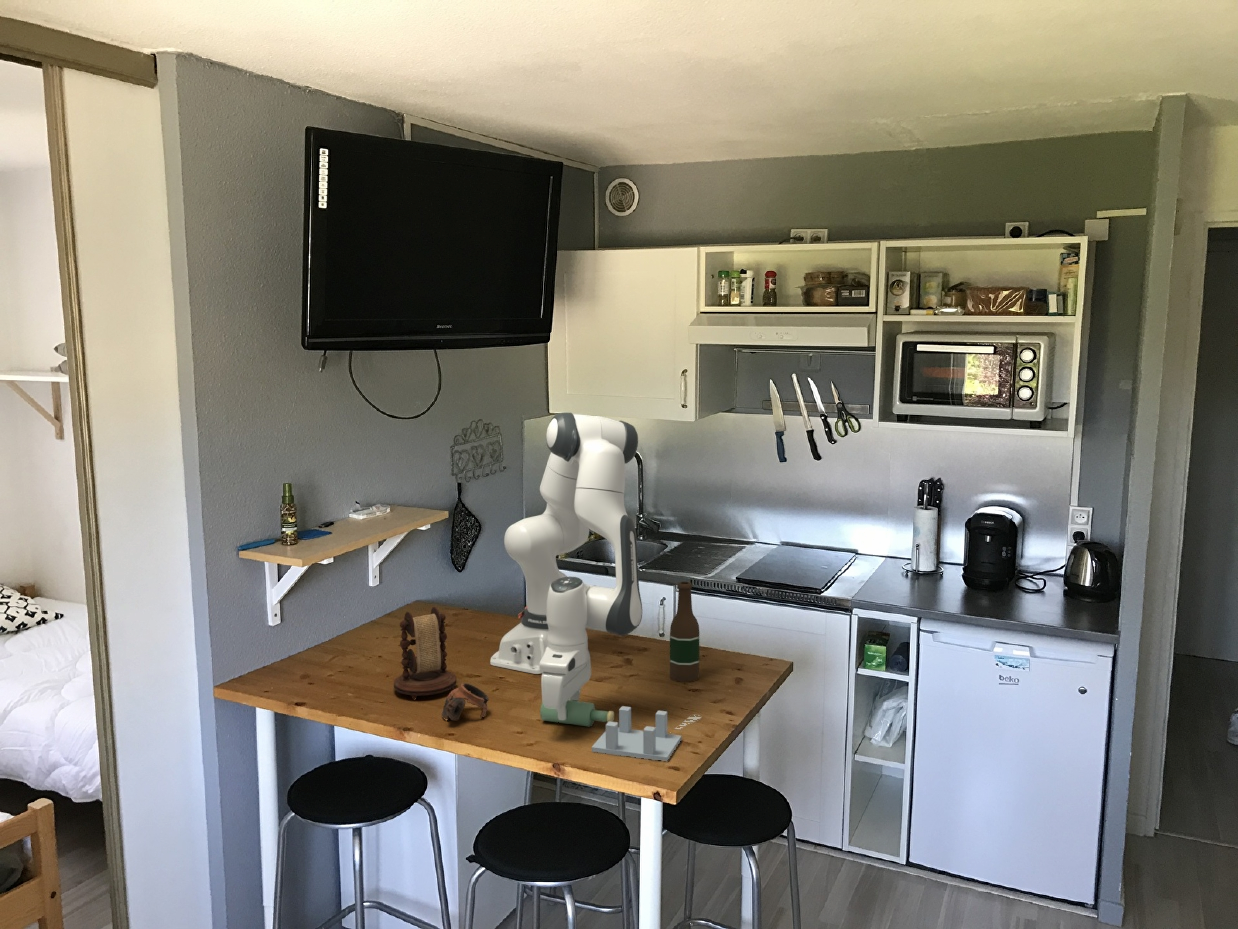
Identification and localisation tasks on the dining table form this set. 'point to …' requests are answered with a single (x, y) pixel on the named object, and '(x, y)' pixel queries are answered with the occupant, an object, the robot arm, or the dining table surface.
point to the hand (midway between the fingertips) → (568, 713)
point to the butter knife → (689, 721)
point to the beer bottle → (684, 639)
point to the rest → (637, 738)
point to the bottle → (577, 714)
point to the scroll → (424, 656)
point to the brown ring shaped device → (457, 702)
